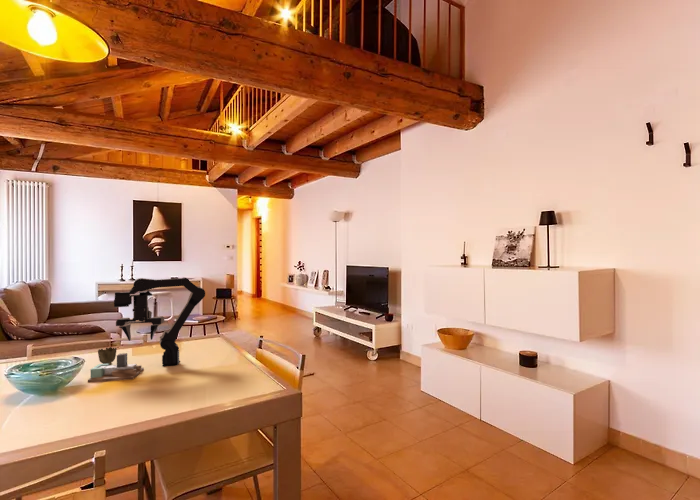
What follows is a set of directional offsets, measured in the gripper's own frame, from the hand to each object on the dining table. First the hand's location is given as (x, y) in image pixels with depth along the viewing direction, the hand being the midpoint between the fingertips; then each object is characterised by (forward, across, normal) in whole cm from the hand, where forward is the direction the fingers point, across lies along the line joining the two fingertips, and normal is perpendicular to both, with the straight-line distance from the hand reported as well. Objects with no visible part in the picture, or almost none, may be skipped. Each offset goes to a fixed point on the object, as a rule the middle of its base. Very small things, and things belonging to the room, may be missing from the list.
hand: (140, 340), depth 170 cm
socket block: (+13, +13, +9) cm, 20 cm away
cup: (+13, +17, -8) cm, 23 cm away
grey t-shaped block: (+12, +6, +9) cm, 16 cm away
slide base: (+13, +6, +9) cm, 17 cm away
